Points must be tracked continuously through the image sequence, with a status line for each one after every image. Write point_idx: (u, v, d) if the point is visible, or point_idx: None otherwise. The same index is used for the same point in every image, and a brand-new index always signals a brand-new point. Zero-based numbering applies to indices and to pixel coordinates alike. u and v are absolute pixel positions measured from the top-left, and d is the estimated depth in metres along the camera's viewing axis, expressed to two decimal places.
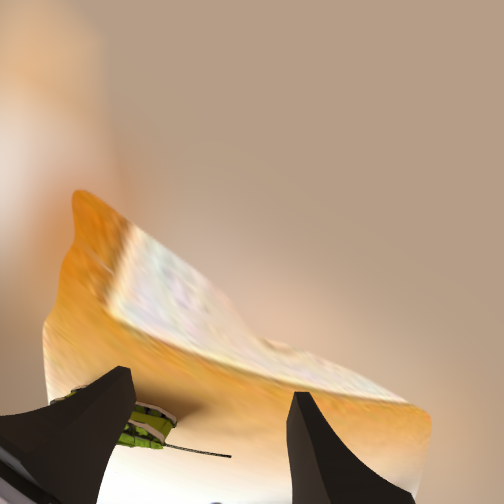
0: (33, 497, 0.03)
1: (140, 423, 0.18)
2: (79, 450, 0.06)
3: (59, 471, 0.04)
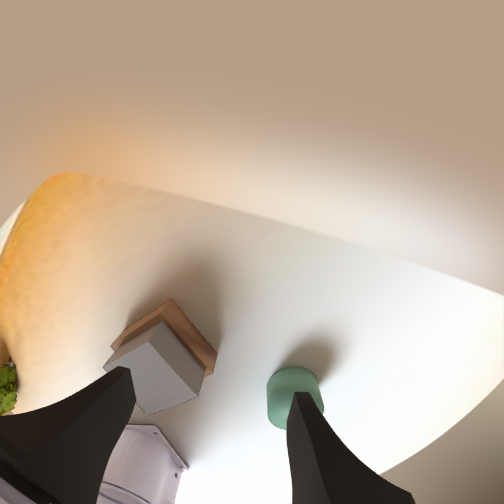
0: (33, 497, 0.03)
1: None
2: (79, 450, 0.06)
3: (59, 471, 0.04)
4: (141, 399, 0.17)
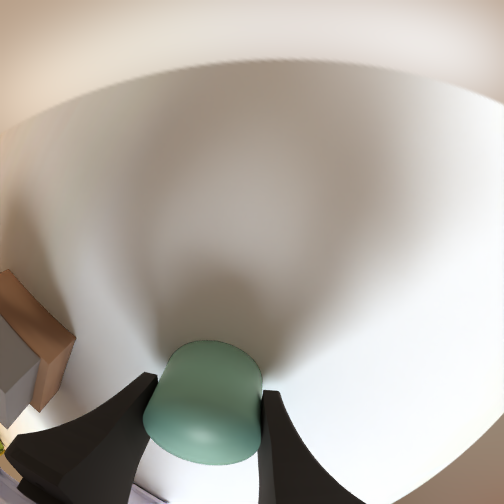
0: (33, 497, 0.03)
1: None
2: (112, 463, 0.06)
3: (94, 488, 0.04)
4: None
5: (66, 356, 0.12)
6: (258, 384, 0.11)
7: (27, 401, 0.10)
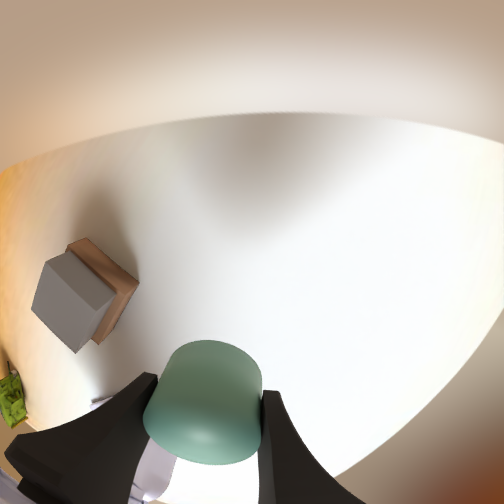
0: (33, 497, 0.03)
1: None
2: (111, 463, 0.06)
3: (94, 488, 0.04)
4: (63, 334, 0.16)
5: (130, 296, 0.20)
6: (258, 384, 0.11)
7: (93, 333, 0.18)
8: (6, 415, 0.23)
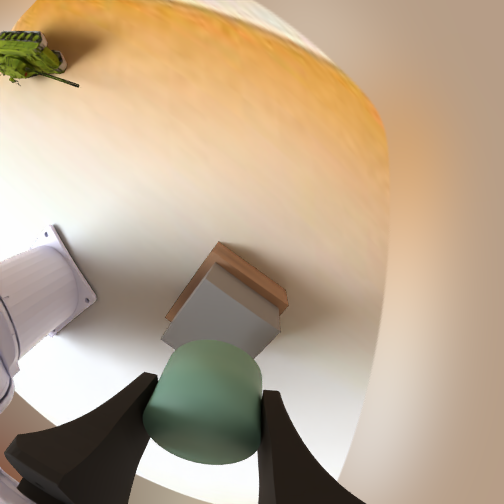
0: (33, 497, 0.03)
1: (41, 35, 0.12)
2: (112, 463, 0.06)
3: (94, 488, 0.04)
4: (183, 330, 0.15)
5: None
6: (258, 383, 0.11)
7: None
8: None
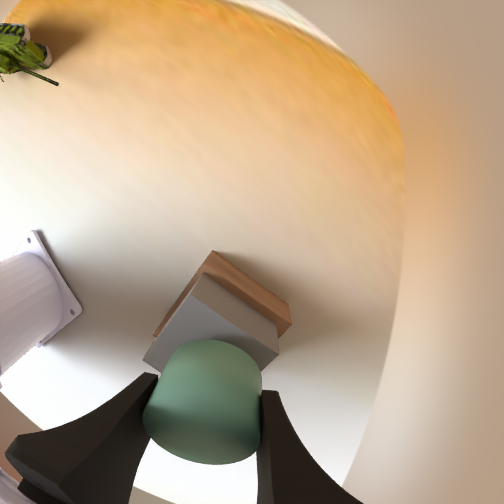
0: (33, 497, 0.03)
1: (25, 28, 0.10)
2: (112, 464, 0.06)
3: (94, 488, 0.04)
4: (166, 351, 0.13)
5: None
6: (258, 383, 0.11)
7: None
8: None
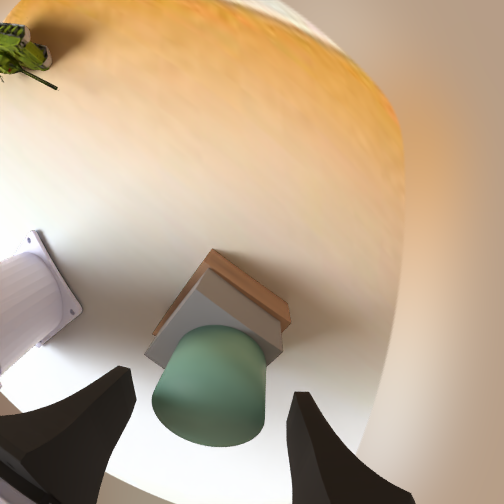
0: (33, 497, 0.03)
1: (26, 29, 0.10)
2: (79, 450, 0.06)
3: (59, 471, 0.04)
4: (169, 346, 0.13)
5: None
6: (263, 368, 0.11)
7: None
8: None
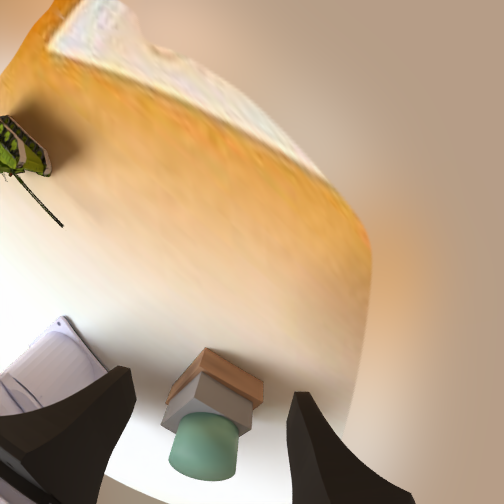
0: (33, 497, 0.03)
1: (19, 139, 0.14)
2: (79, 450, 0.06)
3: (59, 471, 0.04)
4: (177, 422, 0.17)
5: None
6: (235, 437, 0.16)
7: None
8: None
